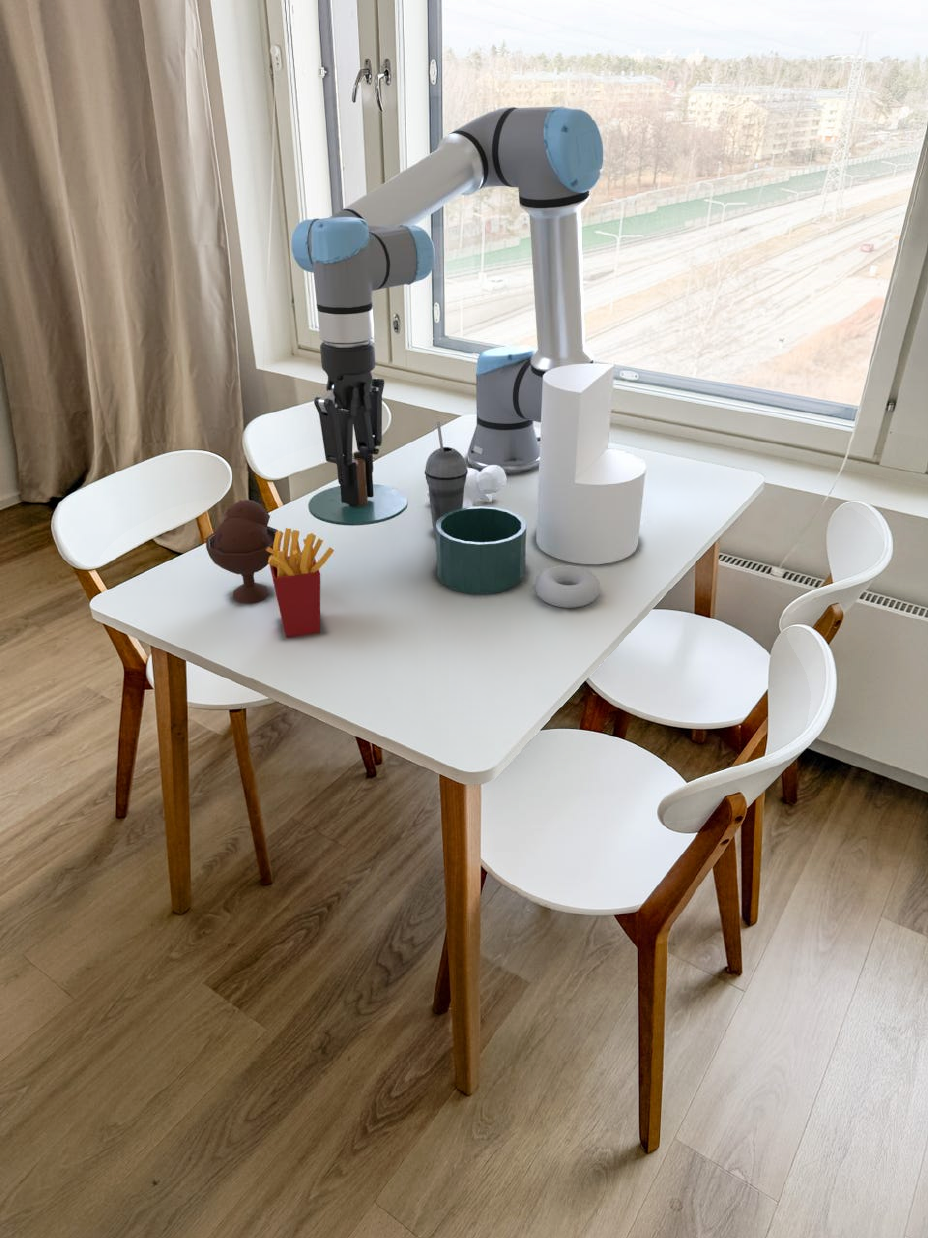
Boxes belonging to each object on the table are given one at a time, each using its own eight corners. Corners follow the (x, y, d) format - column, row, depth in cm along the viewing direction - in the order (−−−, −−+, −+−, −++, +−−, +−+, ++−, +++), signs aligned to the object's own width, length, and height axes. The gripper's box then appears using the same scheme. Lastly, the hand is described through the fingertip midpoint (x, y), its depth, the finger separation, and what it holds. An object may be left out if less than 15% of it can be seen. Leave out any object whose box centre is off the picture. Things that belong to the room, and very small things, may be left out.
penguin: (433, 524, 163) (501, 511, 155) (417, 482, 160) (486, 465, 152) (455, 508, 170) (521, 494, 161) (440, 466, 167) (507, 450, 159)
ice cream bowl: (224, 577, 139) (209, 489, 132) (293, 578, 139) (283, 490, 131) (204, 611, 130) (188, 518, 122) (279, 612, 130) (267, 519, 122)
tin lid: (350, 483, 143) (346, 438, 139) (426, 502, 136) (425, 455, 132) (288, 515, 132) (282, 467, 128) (367, 537, 125) (364, 487, 121)
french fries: (279, 642, 123) (267, 545, 115) (273, 613, 129) (261, 520, 122) (342, 632, 125) (333, 537, 117) (332, 605, 132) (324, 513, 124)
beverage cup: (463, 544, 149) (462, 430, 139) (421, 541, 150) (418, 428, 140) (471, 526, 155) (471, 416, 145) (431, 523, 157) (428, 414, 146)
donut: (543, 576, 139) (525, 605, 131) (544, 557, 138) (526, 584, 130) (605, 587, 136) (591, 616, 128) (607, 567, 135) (593, 595, 127)
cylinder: (520, 552, 147) (526, 385, 132) (556, 513, 160) (564, 358, 146) (620, 572, 140) (637, 399, 126) (649, 530, 154) (667, 370, 139)
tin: (465, 546, 149) (465, 499, 144) (540, 566, 142) (542, 518, 138) (419, 579, 138) (417, 530, 134) (497, 603, 132) (498, 552, 128)
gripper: (361, 326, 128) (370, 477, 140) (287, 349, 117) (303, 512, 129) (402, 332, 125) (408, 486, 137) (331, 357, 113) (344, 523, 125)
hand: (357, 498), depth 133 cm, fingers closed on tin lid, 3 cm apart
